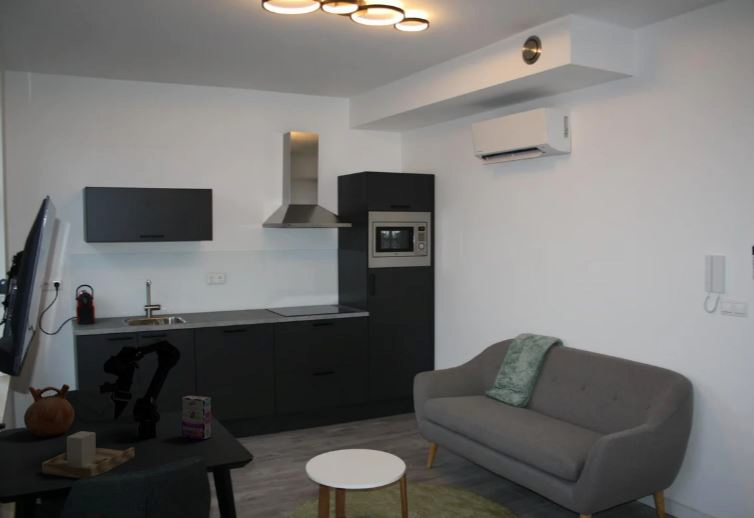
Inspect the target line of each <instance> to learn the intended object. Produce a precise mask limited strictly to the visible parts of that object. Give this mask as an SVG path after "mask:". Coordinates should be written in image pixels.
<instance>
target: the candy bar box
mask: <svg viewBox="0 0 754 518" xmlns="http://www.w3.org/2000/svg"><path fill="white" fill-rule="evenodd" d="M182 436H186V437H192V438H198V439H206V440H208V439H207V438H209V437H211V438H212V397H209V396H208V397H207V396H202V395H201V396H199V395H191V394H190V395H185V396H182V397H181V437H182ZM198 439H197V440H198ZM209 439H210V438H209Z"/></svg>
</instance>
